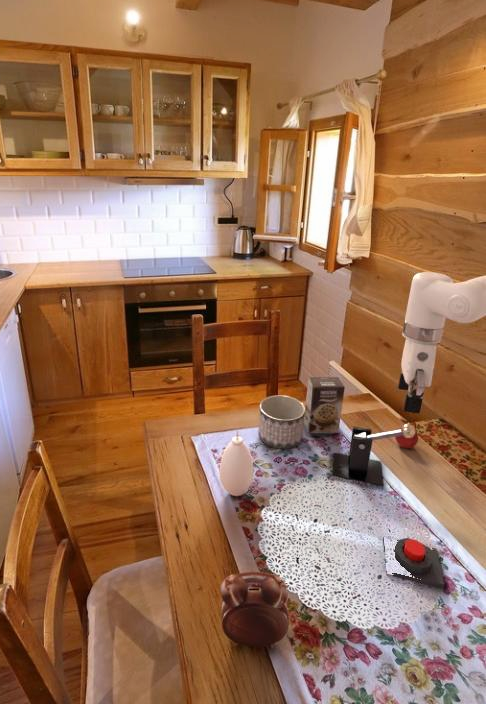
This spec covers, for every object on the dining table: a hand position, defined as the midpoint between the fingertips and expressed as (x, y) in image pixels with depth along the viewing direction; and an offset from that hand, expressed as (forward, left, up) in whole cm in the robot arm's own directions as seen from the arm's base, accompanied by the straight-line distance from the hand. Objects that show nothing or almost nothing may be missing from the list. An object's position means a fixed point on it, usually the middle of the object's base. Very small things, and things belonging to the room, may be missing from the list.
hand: (408, 400), depth 92 cm
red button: (-2, +22, -21) cm, 31 cm away
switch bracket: (+8, -2, -24) cm, 25 cm away
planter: (+29, -10, -24) cm, 39 cm away
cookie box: (+18, -18, -24) cm, 35 cm away
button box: (-2, +22, -24) cm, 33 cm away
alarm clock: (+26, +45, -24) cm, 57 cm away
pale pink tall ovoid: (+36, +14, -24) cm, 46 cm away
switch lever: (+3, -2, -13) cm, 13 cm away
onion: (-5, -16, -24) cm, 29 cm away
